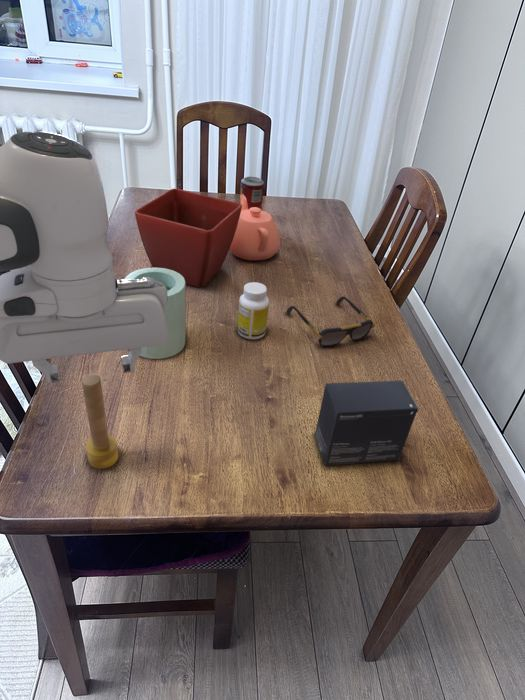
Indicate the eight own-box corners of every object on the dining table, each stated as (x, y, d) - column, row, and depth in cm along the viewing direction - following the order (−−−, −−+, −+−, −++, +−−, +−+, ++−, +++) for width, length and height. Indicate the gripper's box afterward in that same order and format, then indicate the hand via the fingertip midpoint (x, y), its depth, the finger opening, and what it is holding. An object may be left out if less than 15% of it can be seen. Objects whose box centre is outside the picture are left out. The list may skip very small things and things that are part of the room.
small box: (385, 430, 85) (403, 379, 78) (400, 461, 80) (421, 409, 72) (312, 434, 83) (325, 381, 75) (323, 466, 77) (337, 413, 70)
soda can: (265, 219, 154) (269, 180, 147) (248, 224, 150) (251, 184, 143) (250, 212, 158) (253, 173, 151) (234, 216, 154) (236, 177, 147)
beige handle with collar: (88, 471, 72) (73, 392, 63) (88, 449, 76) (73, 371, 66) (119, 466, 74) (109, 388, 64) (117, 444, 77) (107, 367, 67)
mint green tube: (132, 362, 93) (126, 300, 85) (126, 328, 101) (121, 269, 93) (189, 355, 96) (190, 295, 88) (180, 323, 105) (179, 265, 96)
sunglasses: (336, 304, 117) (340, 286, 114) (373, 339, 107) (379, 321, 104) (286, 313, 112) (288, 295, 109) (319, 352, 101) (323, 333, 98)
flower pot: (239, 265, 128) (243, 203, 118) (208, 298, 114) (210, 231, 104) (174, 248, 133) (173, 187, 122) (136, 278, 118) (132, 212, 108)
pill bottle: (266, 325, 107) (272, 282, 100) (264, 342, 102) (269, 297, 96) (239, 322, 107) (242, 278, 101) (235, 338, 102) (238, 293, 96)
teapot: (215, 234, 142) (216, 193, 134) (263, 232, 146) (267, 192, 139) (236, 270, 126) (239, 226, 118) (289, 266, 130) (296, 223, 123)
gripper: (162, 264, 62) (167, 350, 70) (-17, 277, 56) (11, 369, 64) (170, 290, 57) (174, 379, 65) (-25, 307, 51) (7, 402, 59)
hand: (92, 374), depth 65 cm, fingers open, 8 cm apart
